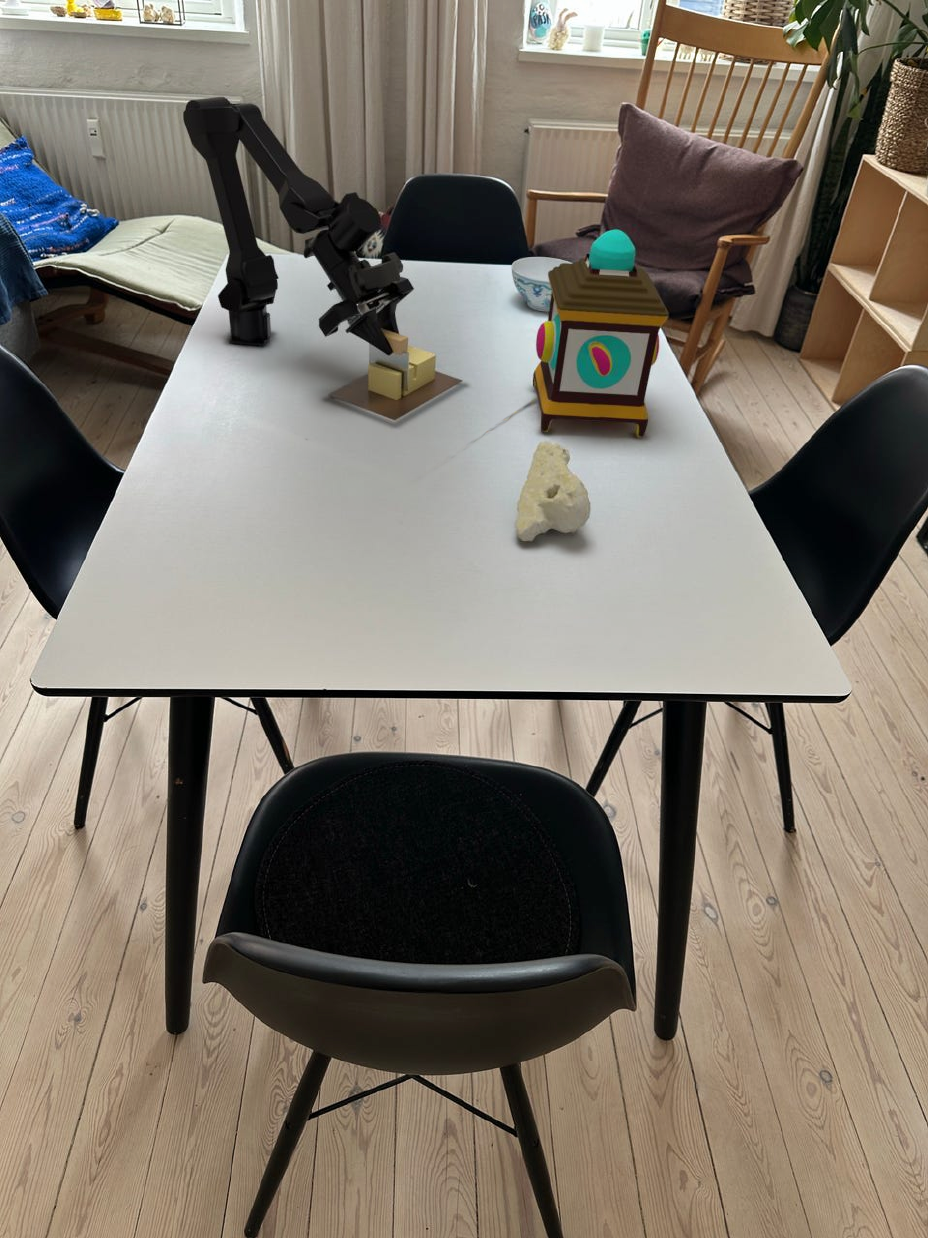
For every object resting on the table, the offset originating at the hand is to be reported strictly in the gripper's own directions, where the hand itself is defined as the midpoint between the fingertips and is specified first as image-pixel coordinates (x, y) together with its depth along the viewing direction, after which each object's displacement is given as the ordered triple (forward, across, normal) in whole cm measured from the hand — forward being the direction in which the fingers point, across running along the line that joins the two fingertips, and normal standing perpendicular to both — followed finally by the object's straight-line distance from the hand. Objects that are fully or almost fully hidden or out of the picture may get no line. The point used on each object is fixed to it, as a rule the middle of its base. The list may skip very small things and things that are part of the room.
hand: (395, 351), depth 151 cm
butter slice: (+4, -1, +6) cm, 8 cm away
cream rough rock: (+32, -16, -20) cm, 41 cm away
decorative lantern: (+25, +18, -13) cm, 34 cm away
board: (+5, +2, +7) cm, 9 cm away
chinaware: (+4, +57, +8) cm, 58 cm away
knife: (+3, 0, +5) cm, 6 cm away
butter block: (+4, +5, +6) cm, 9 cm away
